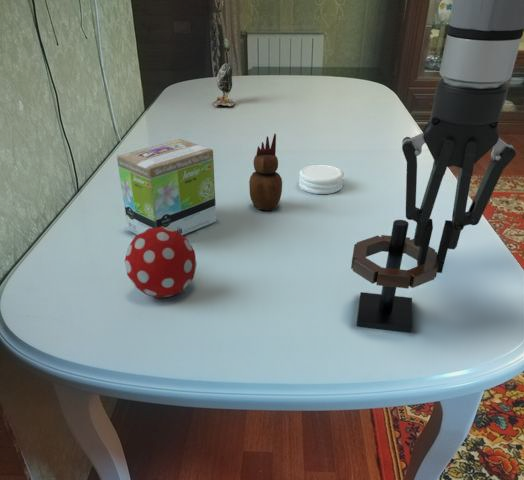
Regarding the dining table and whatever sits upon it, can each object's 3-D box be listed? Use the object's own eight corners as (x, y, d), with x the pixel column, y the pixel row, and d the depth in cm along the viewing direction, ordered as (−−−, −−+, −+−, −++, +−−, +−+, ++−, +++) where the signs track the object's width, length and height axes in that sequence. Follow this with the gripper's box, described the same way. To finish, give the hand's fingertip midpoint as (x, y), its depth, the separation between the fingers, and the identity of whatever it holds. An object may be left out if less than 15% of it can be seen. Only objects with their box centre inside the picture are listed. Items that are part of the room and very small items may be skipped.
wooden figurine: (283, 203, 110) (285, 130, 100) (278, 214, 105) (279, 139, 96) (253, 200, 111) (252, 128, 101) (247, 211, 107) (245, 137, 97)
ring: (433, 250, 75) (435, 239, 74) (437, 291, 67) (440, 280, 66) (355, 243, 77) (356, 232, 76) (348, 282, 69) (350, 270, 67)
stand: (411, 302, 80) (430, 212, 70) (411, 332, 74) (433, 238, 64) (359, 297, 81) (372, 208, 72) (356, 326, 75) (369, 233, 66)
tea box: (159, 248, 94) (148, 168, 85) (127, 231, 99) (113, 155, 90) (218, 222, 103) (214, 147, 93) (186, 208, 108) (178, 136, 99)
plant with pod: (240, 101, 179) (238, 35, 166) (231, 109, 171) (228, 40, 158) (218, 99, 181) (214, 34, 168) (208, 107, 172) (203, 39, 159)
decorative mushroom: (138, 211, 86) (144, 215, 73) (197, 240, 90) (213, 249, 77) (112, 270, 88) (113, 285, 74) (171, 296, 92) (182, 314, 78)
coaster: (345, 194, 113) (347, 179, 111) (301, 195, 113) (302, 180, 111) (337, 178, 121) (339, 163, 119) (296, 179, 121) (297, 164, 118)
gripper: (537, 76, 58) (481, 259, 73) (404, 71, 60) (376, 249, 75) (552, 91, 52) (488, 286, 67) (404, 84, 54) (374, 274, 69)
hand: (429, 266), depth 71 cm, fingers closed on ring, 2 cm apart
